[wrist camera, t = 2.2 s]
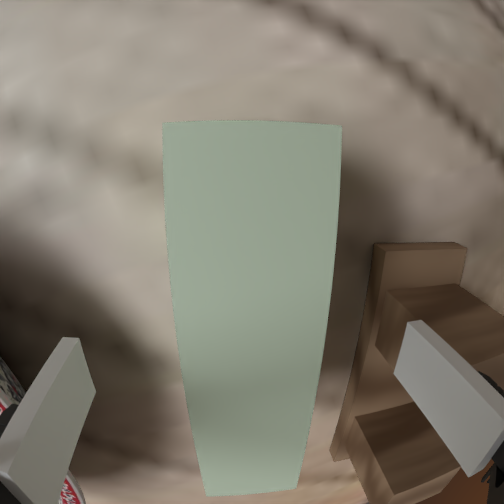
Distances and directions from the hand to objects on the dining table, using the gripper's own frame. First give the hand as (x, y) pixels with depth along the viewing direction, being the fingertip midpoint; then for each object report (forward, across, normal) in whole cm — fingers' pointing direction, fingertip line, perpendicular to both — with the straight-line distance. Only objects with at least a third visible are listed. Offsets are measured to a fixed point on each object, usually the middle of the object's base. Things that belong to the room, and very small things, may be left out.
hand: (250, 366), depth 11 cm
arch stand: (+8, +12, -7) cm, 16 cm away
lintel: (+7, 0, +1) cm, 7 cm away
